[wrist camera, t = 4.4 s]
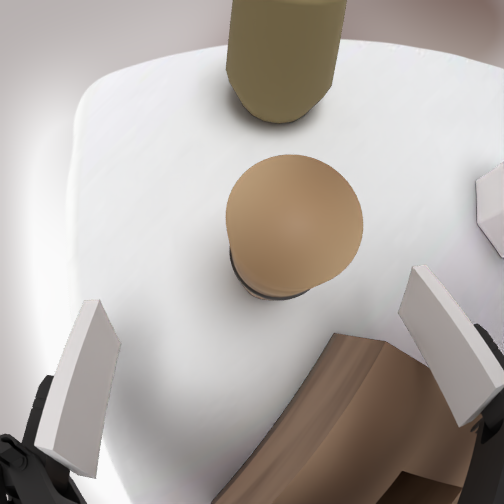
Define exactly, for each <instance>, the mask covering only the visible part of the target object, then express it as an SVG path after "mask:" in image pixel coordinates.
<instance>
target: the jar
mask: <svg viewBox="0 0 504 504" xmlns="http://www.w3.org/2000/svg"><path fill="white" fill-rule="evenodd" d="M476 192H477V224H478V225H479V227H480V228H481V229H482V231H483V232H484V233H485V235H486V236H487V237H488V239H489V240H490V242H491V243H492V244H493V246H494V247H495V249H496V250H497V252H498V253H499V254H500V256H501V257H502V258H504V162H502V163H501V164H499V165H498V166H497V167H495V168H494V169H492V170H491V171H489V172H488V173H486V174H485V175H484V176H482V177H481V178H479V179H478V180H477V181H476Z"/></svg>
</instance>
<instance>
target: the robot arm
mask: <svg viewBox="0 0 504 504" xmlns="http://www.w3.org/2000/svg"><path fill="white" fill-rule="evenodd" d="M398 314H399V315H400V317H401V319H402V320H403V322H404V324H405V325H406V327H407V329H408V331H409V332H410V334H411V336H412V337H413V339H414V341H415V343H416V344H417V346H418V348H419V350H420V352H421V353H422V355H423V357H424V359H425V361H426V363H427V364H428V366H429V368H430V370H431V372H432V374H433V376H434V378H435V379H436V381H437V383H438V385H439V387H440V389H441V391H442V393H443V395H444V397H445V399H446V401H447V403H448V405H449V407H450V409H451V412H452V414H453V416H454V418H455V420H456V422H457V424H458V427H461V426H463V425H465V424H467V423H469V422H471V421H473V420H474V419H475V418H476V417H477V416H478V415H479V414H480V413H481V414H482V418H481V419H480V420H479V421H478V422H477V423H476V424H475V425H474V426H473V427H472V428H471V431H470V432H473V431H474V430H475V429H476V428H478V430H477V431H476V432H475V433H476V434H477V437H476V441H475V446H474V450H473V454H472V458H471V462H470V465H469V469H468V472H467V476H466V479H465V482H464V485H463V488H462V491H461V494H460V497H459V500H458V503H457V504H504V355H503V354H502V352H501V351H500V349H499V350H498V347H497V345H496V344H495V342H493V339H492V338H491V336H490V335H489V334H488V332H487V331H486V330H485V329H484V328H482V327H481V326H480V325H479V324H474V325H473V324H472V323H471V321H470V320H469V318H468V317H467V316H466V314H465V313H464V312H463V310H462V309H461V308H460V306H459V305H458V304H457V302H456V301H455V300H454V299H453V297H452V296H451V295H450V293H449V292H448V291H447V290H446V288H445V287H444V286H443V285H442V283H441V282H440V281H439V280H438V279H437V277H436V276H435V275H434V274H433V272H432V271H431V270H430V269H429V268H428V267H427V265H420V266H413V267H412V270H411V273H410V277H409V280H408V284H407V287H406V290H405V293H404V296H403V300H402V303H401V306H400V309H399V312H398ZM120 347H121V343H120V341H119V339H118V337H117V335H116V333H115V331H114V329H113V327H112V325H111V323H110V321H109V318H108V316H107V314H106V312H105V310H104V308H103V306H102V303H101V301H100V299H99V300H84V302H83V305H82V307H81V309H80V311H79V314H78V316H77V318H76V321H75V323H74V325H73V328H72V330H71V333H70V335H69V338H68V340H67V343H66V345H65V348H64V351H63V353H62V356H61V359H60V361H59V364H58V367H57V369H56V372H55V375H54V376H51V375H47V376H46V377H45V378H44V380H43V381H42V382H41V384H40V386H39V388H38V391H37V394H36V399H35V400H34V403H33V406H32V407H33V409H31V413H30V416H29V419H28V422H27V426H26V430H25V433H24V437H23V440H22V443H20V442H19V441H18V440H16V439H15V438H14V437H12V436H11V435H9V434H3V435H0V504H87V503H86V501H85V499H84V498H83V496H82V495H81V493H80V491H79V490H78V488H77V486H76V484H75V483H74V481H73V480H72V479H71V477H70V476H69V473H70V470H71V471H72V472H74V473H76V474H77V475H80V476H85V477H90V478H95V479H96V473H97V465H98V457H99V451H100V445H101V438H102V432H103V426H104V421H105V415H106V410H107V405H108V400H109V395H110V390H111V385H112V381H113V376H114V372H115V368H116V363H117V359H118V355H119V351H120ZM6 494H7V495H8V499H9V500H8V501H7V497H6Z"/></svg>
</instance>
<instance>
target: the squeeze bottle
mask: <svg viewBox="0 0 504 504" xmlns="http://www.w3.org/2000/svg"><path fill="white" fill-rule="evenodd" d="M346 2H347V0H233V3H232V12H231V21H230V32H229V41H228V51H227V62H226V71H227V75H228V78H229V82H230V84H231V86H232V87H233V89H234V91H235V92H236V94H237V96H238V97H239V99H240V101H241V102H242V104H243V106H244V107H245V108H246V109H247V110H248V111H249V112H250V114H251V115H253V116H255V117H257V118H259V119H261V120H263V121H267V122H273V123H286V122H293V121H295V120H297V119H298V118H300V117H302V116H304V115H305V114H306V113H307V112H308V111H309V110H310V109H311V108H312V107H313V106H314V105H315V104H317V103H318V102H319V101H320V100H321V99H322V98H323V97H324V95H325V94H326V93H327V91H328V90H329V89H330V87H331V86H332V80H333V75H334V70H335V65H336V60H337V54H338V49H339V43H340V38H341V32H342V26H343V21H344V15H345V9H346Z"/></svg>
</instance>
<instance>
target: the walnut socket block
mask: <svg viewBox="0 0 504 504" xmlns="http://www.w3.org/2000/svg"><path fill="white" fill-rule="evenodd" d="M481 418H482V414H481V413H480V414H479V415H478V416H477V417H476V418H475V419H474V420H473V421H471V422H469V423H467V424H465V425H463V426H461V427H458V424H457V422H456V420H455V418H454V416H453V414H452V412H451V409H450V407H449V405H448V403H447V401H446V399H445V397H444V395H443V393H442V391H441V389H440V387H439V385H438V383H437V381H436V379H435V378H434V376H433V374H432V372H431V370H430V368H428V367H427V366H425V365H424V364H422V363H420V362H419V361H417V360H415V359H414V358H412V357H410V356H409V355H407V354H406V353H404V352H402V351H401V350H399V349H397V348H396V347H394V346H393V345H391V344H389V343H388V342H386V341H380V340H373V339H367V338H361V337H354V336H348V335H343V334H337V333H334V334H333V336H332V337H331V339H330V341H329V342H328V344H327V346H326V347H325V349H324V351H323V352H322V354H321V356H320V357H319V359H318V360H317V362H316V364H315V365H314V367H313V368H312V370H311V371H310V373H309V375H308V376H307V378H306V379H305V381H304V382H303V384H302V385H301V387H300V388H299V390H298V391H297V393H296V394H295V396H294V397H293V399H292V400H291V402H290V403H289V404H288V406H287V407H286V409H285V410H284V412H283V413H282V414H281V416H280V417H279V419H278V420H277V421H276V423H275V424H274V426H273V427H272V428H271V430H270V431H269V432H268V434H267V435H266V436H265V438H264V439H263V440H262V442H261V443H260V444H259V446H258V447H257V448H256V449H255V451H254V452H253V453H252V455H251V456H250V457H249V458H248V460H247V461H246V462H245V463H244V465H243V466H242V467H241V468H240V469H239V471H238V472H237V473H236V474H235V475H234V477H233V478H232V479H231V480H230V481H229V483H228V484H227V485H226V486H225V487H224V488H223V490H222V491H221V492H220V493H219V494H218V495H217V496H216V497H215V499H214V500H213V501H212V502H211V504H457V503H458V500H459V497H460V494H461V491H462V488H463V485H464V482H465V479H466V476H467V472H468V469H469V465H470V462H471V458H472V454H473V450H474V446H475V441H476V437H477V434H476V433H475V432H476V431H477V430H478V428H476V429H475V430H474V431H473V432H470V431H471V428H472V427H473V426H474V425H475V424H476V423H477V422H478V421H479V420H480V419H481Z"/></svg>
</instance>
